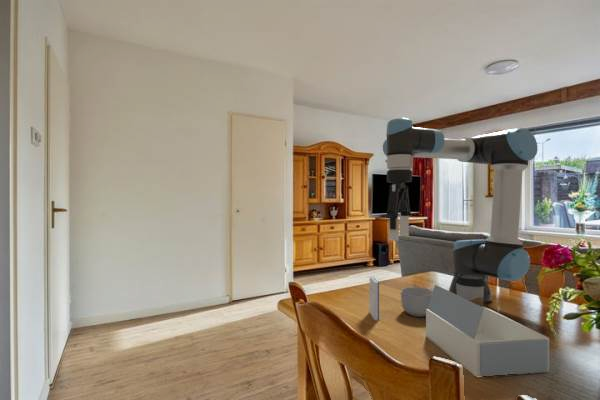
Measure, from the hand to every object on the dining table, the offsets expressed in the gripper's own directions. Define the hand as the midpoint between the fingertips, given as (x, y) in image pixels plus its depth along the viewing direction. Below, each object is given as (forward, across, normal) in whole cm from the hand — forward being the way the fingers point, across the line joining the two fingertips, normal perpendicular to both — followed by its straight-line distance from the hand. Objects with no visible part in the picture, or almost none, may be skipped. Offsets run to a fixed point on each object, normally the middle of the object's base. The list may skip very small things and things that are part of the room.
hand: (399, 238), depth 103 cm
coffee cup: (+28, -14, +19) cm, 36 cm away
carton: (+27, +8, +22) cm, 36 cm away
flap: (+19, +13, +15) cm, 28 cm away
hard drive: (+28, -5, -10) cm, 30 cm away
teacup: (+28, -16, +2) cm, 32 cm away
